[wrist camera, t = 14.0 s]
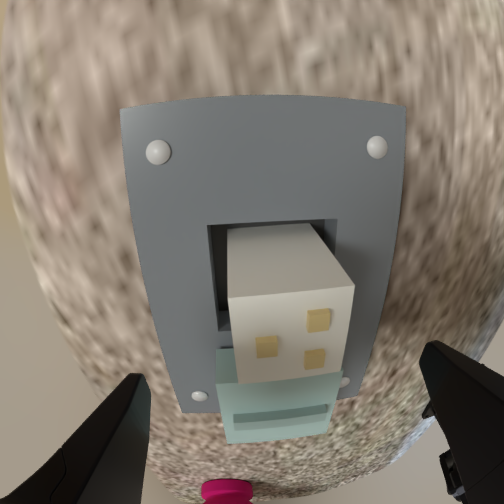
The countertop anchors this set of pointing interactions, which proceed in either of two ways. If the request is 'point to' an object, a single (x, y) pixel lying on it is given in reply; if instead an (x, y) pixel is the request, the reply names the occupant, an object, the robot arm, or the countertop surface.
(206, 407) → the socket plate
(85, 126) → the countertop surface
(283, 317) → the plug
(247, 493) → the pepper mill
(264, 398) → the block
